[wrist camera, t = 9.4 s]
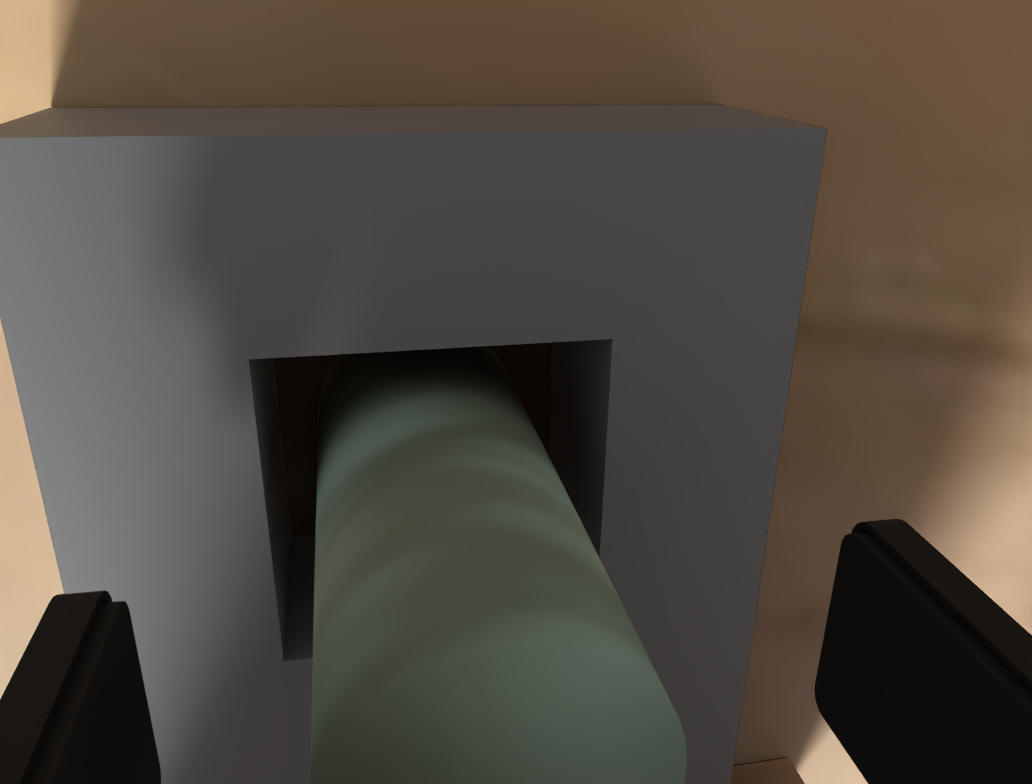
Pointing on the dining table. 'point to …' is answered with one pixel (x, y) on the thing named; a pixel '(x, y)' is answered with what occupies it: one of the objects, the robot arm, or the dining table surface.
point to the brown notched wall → (766, 773)
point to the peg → (465, 595)
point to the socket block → (398, 327)
